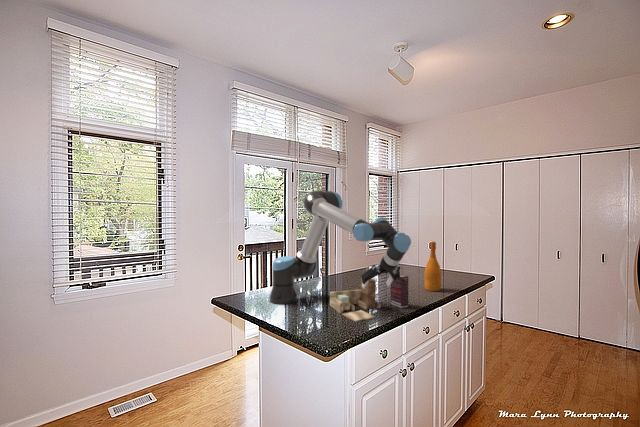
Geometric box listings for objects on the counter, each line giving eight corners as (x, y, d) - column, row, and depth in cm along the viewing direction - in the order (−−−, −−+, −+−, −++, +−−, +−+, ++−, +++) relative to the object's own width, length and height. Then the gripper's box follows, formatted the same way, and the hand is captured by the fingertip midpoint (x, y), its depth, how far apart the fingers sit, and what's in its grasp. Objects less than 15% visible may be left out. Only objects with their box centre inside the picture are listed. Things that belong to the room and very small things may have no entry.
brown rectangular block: (367, 308, 172) (367, 281, 172) (360, 304, 180) (360, 277, 179) (375, 307, 174) (375, 280, 173) (368, 303, 181) (368, 277, 181)
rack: (339, 313, 164) (340, 299, 164) (329, 305, 178) (329, 291, 177) (384, 308, 172) (384, 295, 171) (371, 301, 185) (371, 288, 185)
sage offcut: (341, 303, 169) (341, 297, 169) (337, 300, 174) (337, 295, 174) (348, 302, 171) (348, 297, 170) (344, 300, 175) (344, 294, 175)
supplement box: (408, 307, 175) (409, 276, 175) (401, 308, 173) (401, 277, 172) (397, 302, 183) (397, 273, 182) (390, 304, 180) (390, 274, 180)
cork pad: (355, 321, 152) (355, 320, 152) (342, 314, 162) (342, 313, 162) (375, 317, 158) (375, 316, 158) (361, 311, 167) (361, 310, 167)
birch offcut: (341, 311, 168) (341, 304, 168) (336, 307, 175) (336, 300, 175) (349, 310, 170) (349, 303, 170) (344, 306, 176) (344, 299, 176)
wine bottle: (442, 289, 213) (443, 241, 212) (438, 292, 204) (439, 242, 204) (426, 287, 218) (427, 240, 217) (422, 290, 210) (422, 241, 209)
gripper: (368, 268, 149) (354, 294, 163) (417, 265, 157) (400, 290, 171) (363, 254, 154) (350, 280, 168) (411, 252, 162) (394, 277, 176)
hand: (375, 285), depth 170 cm, fingers open, 13 cm apart
